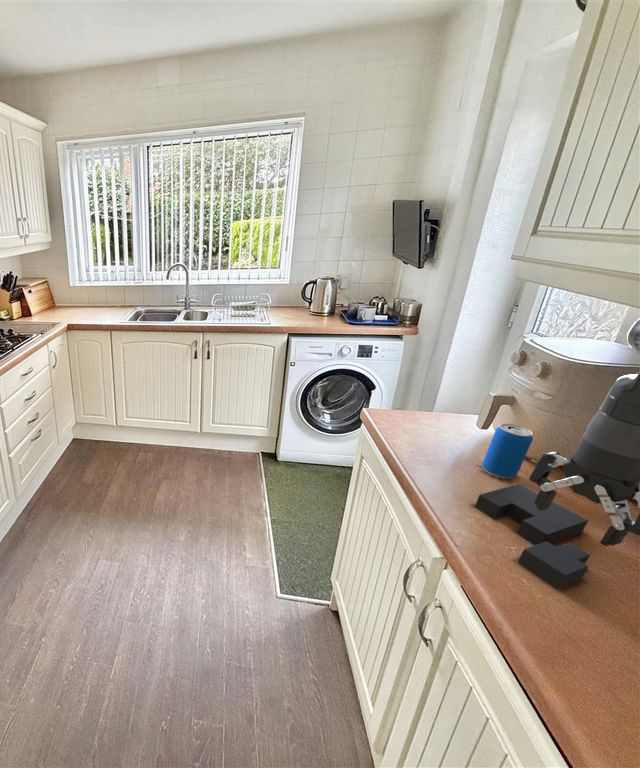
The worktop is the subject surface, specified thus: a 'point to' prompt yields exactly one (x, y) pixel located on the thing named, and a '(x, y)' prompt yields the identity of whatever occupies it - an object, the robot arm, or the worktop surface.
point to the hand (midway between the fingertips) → (571, 525)
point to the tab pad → (555, 562)
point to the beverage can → (507, 450)
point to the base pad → (531, 514)
